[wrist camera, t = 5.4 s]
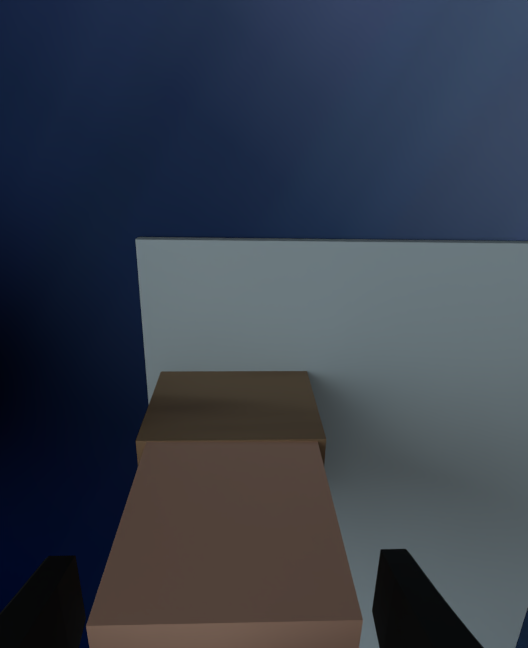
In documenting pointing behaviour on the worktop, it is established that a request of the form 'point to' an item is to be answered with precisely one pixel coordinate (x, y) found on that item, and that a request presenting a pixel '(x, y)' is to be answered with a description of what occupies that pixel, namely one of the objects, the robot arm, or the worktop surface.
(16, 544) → the worktop surface
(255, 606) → the terracotta block
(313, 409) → the walnut block
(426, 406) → the mat
